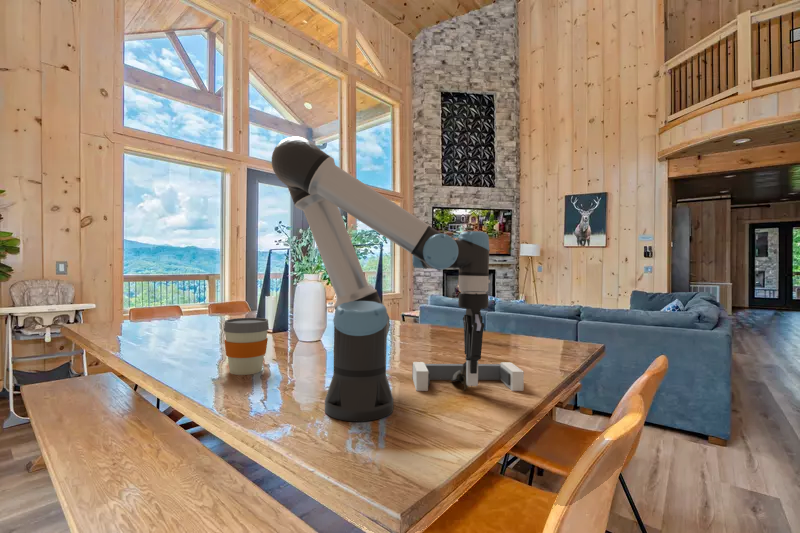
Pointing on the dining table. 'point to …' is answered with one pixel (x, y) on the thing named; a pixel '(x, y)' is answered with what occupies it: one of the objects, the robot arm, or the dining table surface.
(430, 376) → the rail
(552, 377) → the dining table surface
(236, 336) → the reusable coffee cup
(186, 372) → the dining table surface
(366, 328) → the robot arm
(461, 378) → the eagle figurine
